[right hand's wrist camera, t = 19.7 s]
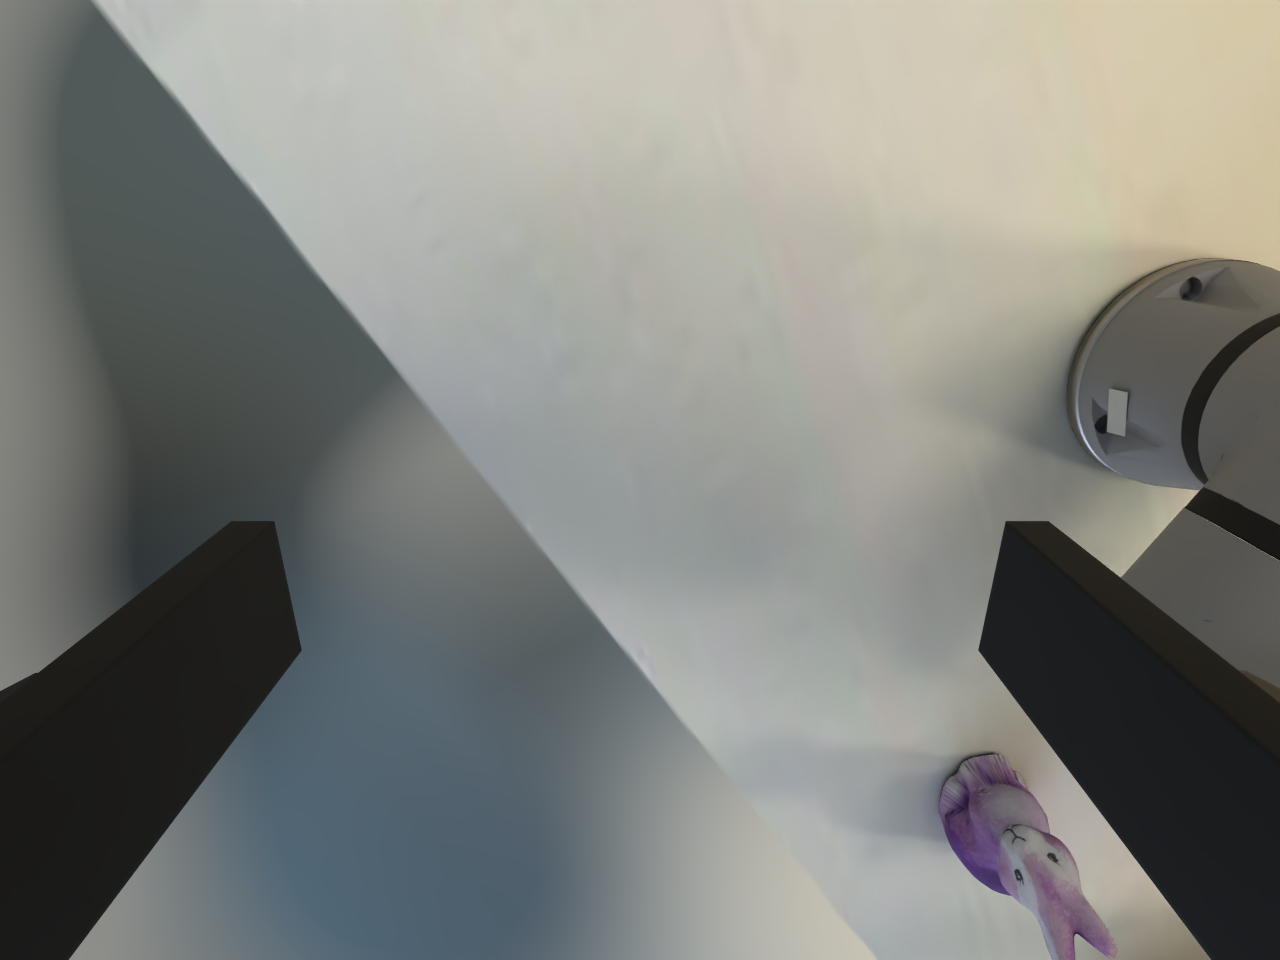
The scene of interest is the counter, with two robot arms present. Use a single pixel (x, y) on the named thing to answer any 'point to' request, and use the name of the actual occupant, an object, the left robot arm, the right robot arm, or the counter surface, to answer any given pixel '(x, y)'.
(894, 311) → the counter surface
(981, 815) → the figurine
